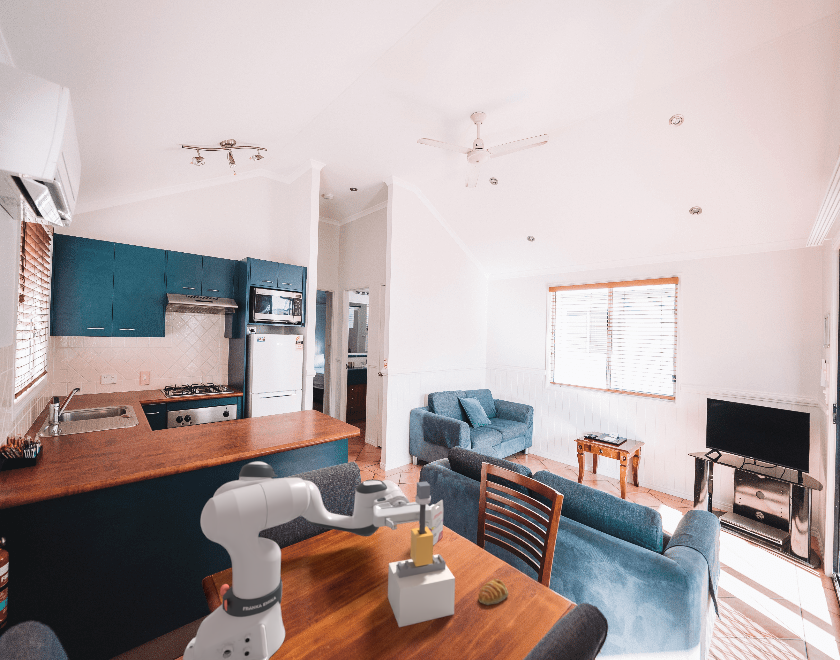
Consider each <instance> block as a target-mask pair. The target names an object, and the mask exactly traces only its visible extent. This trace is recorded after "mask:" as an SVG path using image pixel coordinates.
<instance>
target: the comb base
mask: <svg viewBox="0 0 840 660" xmlns="http://www.w3.org/2000/svg"><path fill="white" fill-rule="evenodd" d="M387 578H388V579H387V598H388V602H389V604H390V607H391V609H392V613H393V614H394V618H395V619H396V622H397V625H398V628H401V627H406V626H410V625H415V624H419V623H422V622H426V621H427V622H428V621H432V620H435V619H440V618H443V617H447V616H453V615H455V600H456V599H455V597H456V596H455V591H456V577H455V576H454V574H453V573H452V571H451V570H450V569H449V567H448V566H447V564H446V560H445V559H444V558H443V555H441V554H439V553H438V554H437V553H436V554H433V563H432V564H427V565H421V566H415V564H414V562H413V560H412V558H409V559H405V560H404V559H403V560H398V561H393V562H389V563H388V577H387Z"/></svg>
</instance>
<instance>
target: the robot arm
mask: <svg viewBox="0 0 840 660" xmlns="http://www.w3.org/2000/svg"><path fill="white" fill-rule="evenodd" d="M274 477H275V478H274ZM277 477H278V474H276V473H275V469H274V468H273V466H272V465H270V464H268V463H266V462H264V461H260V460H259V461H252V462H249V463H247V464H244V465H243V466H242V467H241V469H240V472H239V474H238V478H239V479H238V480H237V479H236V480H232V481H227V482H226V483H224V484H222V485H221V486H220V487H218V488H217V490H216V491H215V492H214V494H213V497H211V498H209V499H208V500H207V502H206V503H205V505H204V507H203V509H202V511H201V514H200V527H201V531H202V533H203V534H204V535H205V537H206V539H208V540H210V541H211V542H213V543H217V544H219V545H221V546H222V547H223V548H224V549H226V551H227V553H228V555H229V556H230V560H231V569H232V583H231V584H232V585H231V586H229V584H227V583H224V584H222V585H221V586H220V589H219V591H220V592H219V593H220V594H219V595H220V596H221V597H222V599H221V600H222V601H221V602H222V603H221V605H219V606H218V607H217V608H215V610H214V611H213V612H211V613H209V615H207V616H206V617H205V618H204V619H203V621H202V622H201V623H200V625H199V627H198V630H197V632H196V635H195V637H193V638H192V639H191V640H190V641H189V642H188V644H187V646H186V647H185V649H184V652H183V657H182V660H270V658H271V657H272V656H273V655H274V654H275V653H276V652H277V651H278V650H279V649H280V647H281V646H282V645H283V642H284V640H285V637H286V630H285V629H286V628H285V626H284V622H283V618H282V617H283V616H282V609H281V608H282V607H281V604H282V597H283V581H282V577H281V566H282V565H281V563H282V551H281V548H280V546H279V544H278V543H277V542H275V541H274V540H272V539H269V538H265V537H260V536H259V534H260V532H262V531H263V530H268V529H270V528H274V527H277V526H280V525H283V524H287V523H289V522H291V521H293V520H295V519H296V518H298V517H303V518H304V519H305V520H306V521H307V523H308V524H310V525H312V526H315V527H316V526H317V527H319V528H324V529H330V530H335V531H340V532H341V531H342V532H346V533H352V534H355V535H357V536H361V537H371V536H372V535H373V534H374V533H376V532H377V531H378V530H379V529H380V528H381V527H387V528H390V529H391V531H395V530H397V529H398V525H403V524H408V523H417V522H418V526H420V504H418V503H416V502H415V501H412V502H410V500H409V499H408V497H407V496H406V495H405V493H404V492H403V490H402V489H401V487H400V486H399V485H398V484H397V483H395V482H394V481H393V480H390V479H385V480H381V479H366V480H363V481H362V482H361V483H359V484H358V485H357V486H356V487H355V494H354V505H353V513H352V516H351V515H350V516H349V515H343V514H337V513H333V512H330V511H328V509H326V507H325V505H324V502H323V498H322V495H321V492H320V489H319V487H318V486H317V484H315V483H314V482H312V481H311V480H308V479H307V480H306V479H303V478H302V477H279V478H277ZM430 506H431V505H429V504H426V510H425V520H430V519H431V518H432V508H431V507H430Z"/></svg>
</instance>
